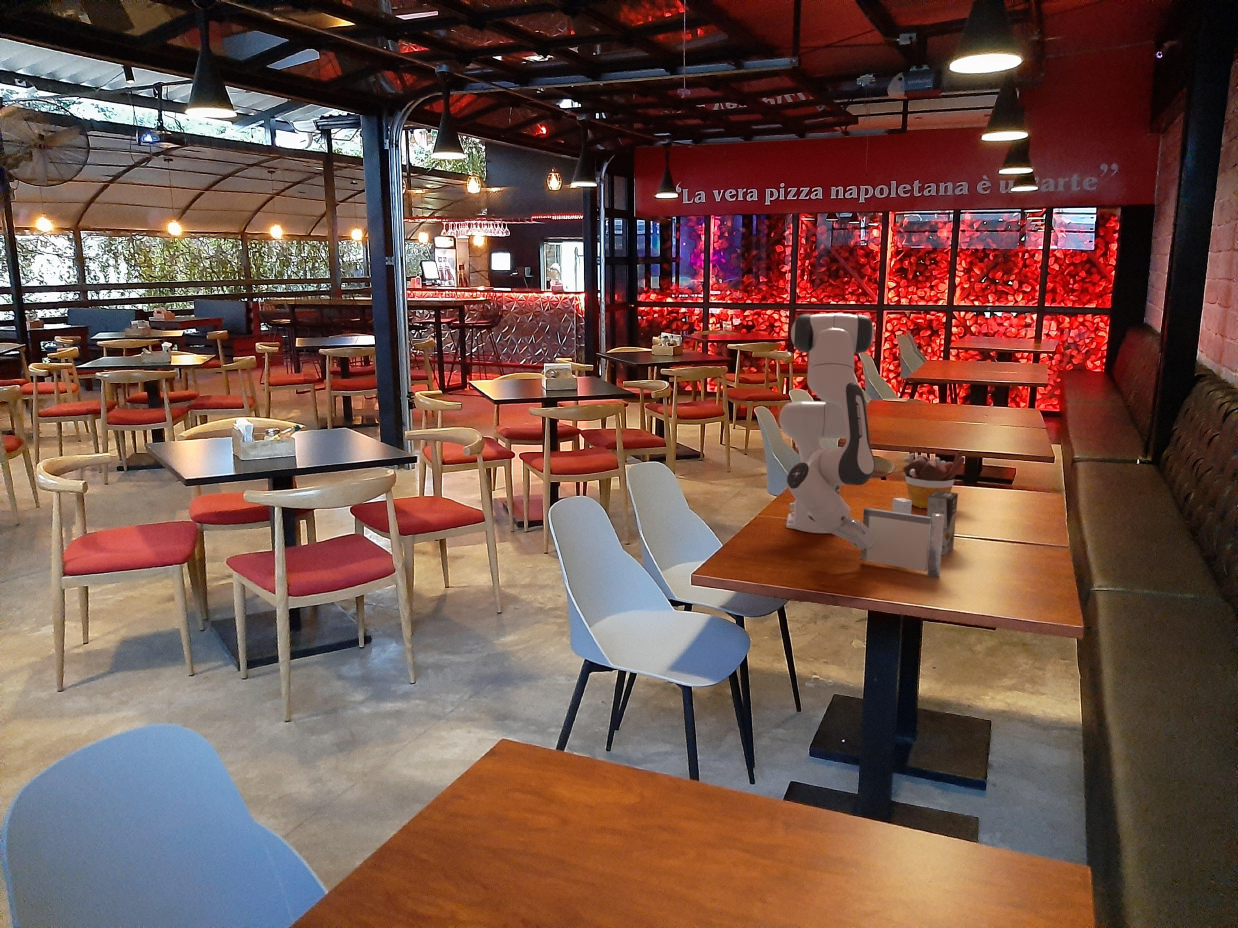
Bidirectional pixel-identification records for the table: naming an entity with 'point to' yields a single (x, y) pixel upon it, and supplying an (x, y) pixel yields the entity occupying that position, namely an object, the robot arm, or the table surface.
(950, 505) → the coffee box
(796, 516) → the robot arm
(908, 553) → the gate
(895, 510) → the post
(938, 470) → the bucket of meat
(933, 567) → the hinge post
